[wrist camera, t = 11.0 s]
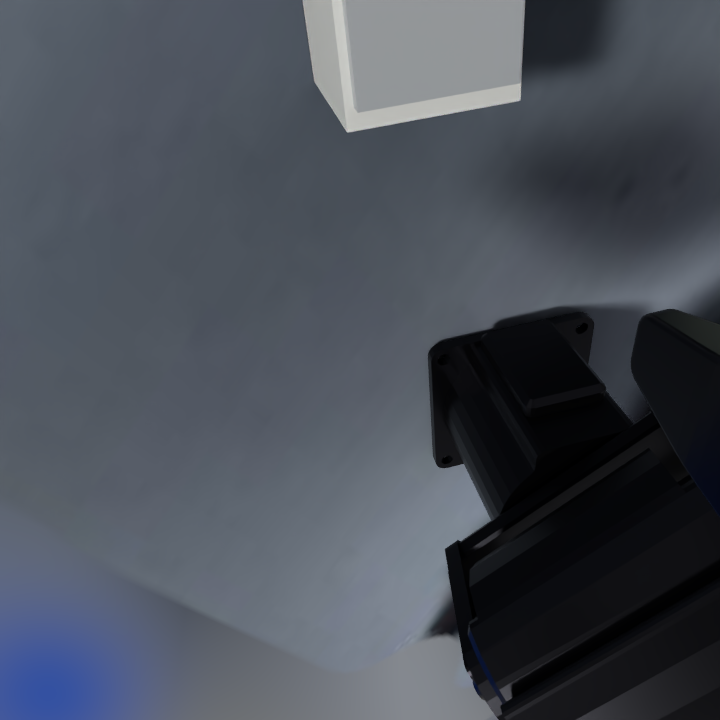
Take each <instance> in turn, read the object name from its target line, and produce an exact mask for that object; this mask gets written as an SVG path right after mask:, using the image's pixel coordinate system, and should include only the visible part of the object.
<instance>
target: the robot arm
mask: <svg viewBox="0 0 720 720" xmlns="http://www.w3.org/2000/svg"><path fill="white" fill-rule="evenodd" d="M581 323H582V324H581ZM579 324H581V325H580V326H579V327H577V326H578V325H579ZM576 327H577V328H576ZM593 329H594V322H593V320H592V319H591V318H590V317H589V316H588V315H587V313H584V312H576V313H572V314H567V315H563V316H558V317H554V318H549V319H545V320H540V321H536V322H531V323H527V324H523V325H518V326H514V327H509V328H505V329H500V330H496V331H491V332H487V333H482V334H478V335H474V336H469V337H465V338H460V339H456V340H451V341H447V342H442V343H439V344H436V345H435V346H433V347H432V348H431V349H430V351H429V353H428V368H429V387H430V406H431V426H432V445H433V457H434V460H435V462H436V464H437V466H438V467H440V468H448V467H452V466H456V465H460V464H464V465H465V467H466V469H467V471H468V473H469V475H470V477H471V479H472V481H473V483H474V485H475V487H476V490H477V492H478V494H479V496H480V498H481V500H482V502H483V504H484V506H485V508H486V510H487V512H488V515H489V517H490V519H491V521H490V522H489V523H487V524H486V525H484V526H483V527H481V528H480V529H478V530H477V531H475V532H474V533H472V534H471V535H470V536H468V537H467V538H465V539H464V540H462V541H459V540H458V541H456V542H455V543H453V544H452V545H450V546H449V547H447V548H446V549H445V553H446V559H447V564H448V570H449V571H448V574H449V580H450V585H451V591H452V597H453V602H454V608H455V614H456V620H457V625H458V631H459V637H460V643H461V648H462V654H463V660H464V665H465V668H466V670H467V672H468V674H469V676H470V677H471V678H472V680H473V685H474V688H475V690H476V692H477V694H478V695H479V696H480V697H481V698H482V699H483V700H485V701H486V702H487V704H488V705H489V707H490V708H491V710H492V711H493V713H494V714H495V716H496V717H497V718H498V719H499V720H720V324H717V323H714V322H711V321H708V320H705V319H702V318H699V317H696V316H693V315H690V314H687V313H684V312H681V311H679V310H675V309H666V310H662V311H657V312H653V313H649V314H646V315H644V316H643V317H642V318H641V319H640V321H639V324H638V328H637V333H636V338H635V343H634V348H633V352H632V357H631V370H632V374H633V377H634V379H635V381H636V383H637V384H638V386H639V388H640V390H641V392H642V393H643V395H644V397H645V399H646V400H647V402H648V404H649V406H650V408H651V409H649V411H650V413H649V414H647V415H646V416H644V417H643V418H641V419H640V420H638V421H637V422H635V423H634V424H633V423H632V422H631V421H630V419H629V418H628V417H627V416H626V414H625V413H624V412H623V411H622V410H621V408H620V407H619V406H618V405H617V404H616V402H615V401H614V400H613V399H612V398H611V396H610V395H609V394H608V393H607V391H606V387H605V384H604V383H603V382H602V381H601V380H600V378H599V377H598V376H597V375H596V374H595V372H594V371H593V370H592V369H591V368H590V366H589V365H588V361H589V355H590V348H591V342H592V335H593ZM443 354H446V356H445V357H444V358H442V359H438V358H439V357H440V356H441V355H443ZM445 456H446V457H445Z"/></svg>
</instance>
